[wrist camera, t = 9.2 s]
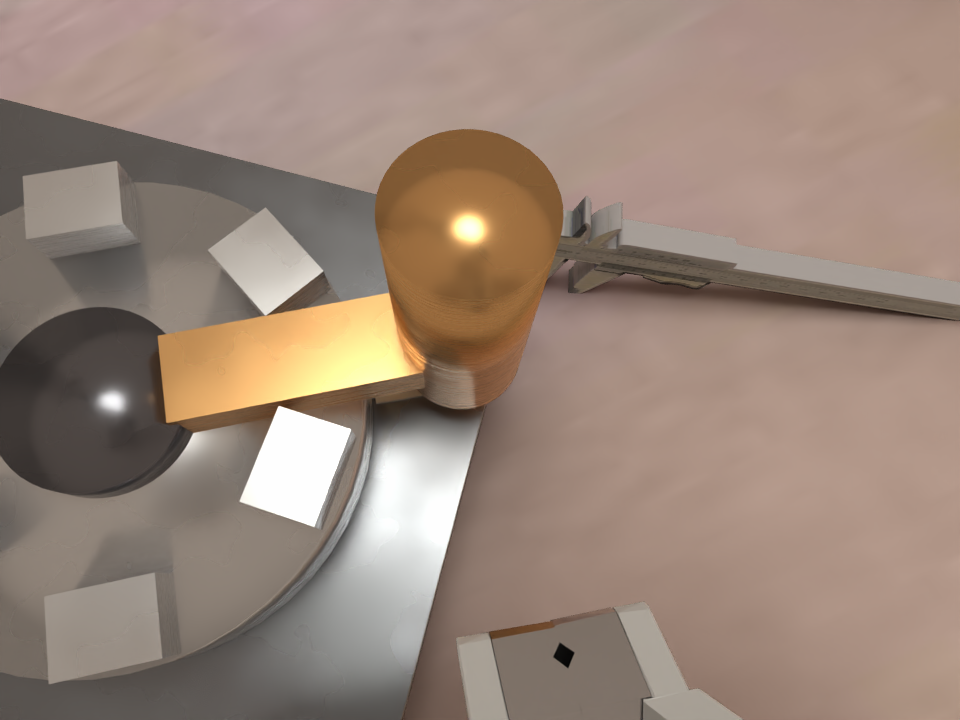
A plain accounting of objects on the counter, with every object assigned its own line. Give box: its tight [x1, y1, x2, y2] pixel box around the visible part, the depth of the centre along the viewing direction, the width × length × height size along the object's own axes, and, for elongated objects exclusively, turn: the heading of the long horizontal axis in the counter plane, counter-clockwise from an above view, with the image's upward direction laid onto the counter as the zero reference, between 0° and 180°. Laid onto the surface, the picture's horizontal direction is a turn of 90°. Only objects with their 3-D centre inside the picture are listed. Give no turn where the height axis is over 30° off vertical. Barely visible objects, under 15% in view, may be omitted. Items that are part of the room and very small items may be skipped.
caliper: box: [547, 196, 960, 321], centre depth 28 cm, size 20×1×6 cm, turn 87°
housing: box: [0, 99, 486, 720], centre depth 25 cm, size 20×20×4 cm
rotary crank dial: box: [0, 129, 564, 684], centre depth 18 cm, size 19×14×11 cm
